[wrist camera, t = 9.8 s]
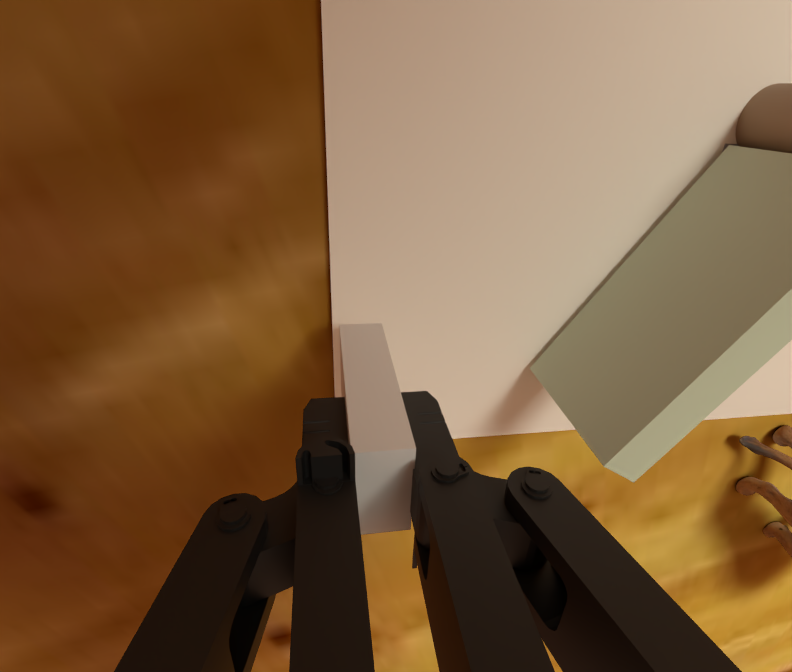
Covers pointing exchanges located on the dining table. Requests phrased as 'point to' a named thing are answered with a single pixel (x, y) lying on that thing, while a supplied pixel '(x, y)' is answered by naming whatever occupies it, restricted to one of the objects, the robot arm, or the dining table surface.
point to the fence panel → (681, 315)
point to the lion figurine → (750, 485)
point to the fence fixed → (767, 120)
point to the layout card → (522, 175)
